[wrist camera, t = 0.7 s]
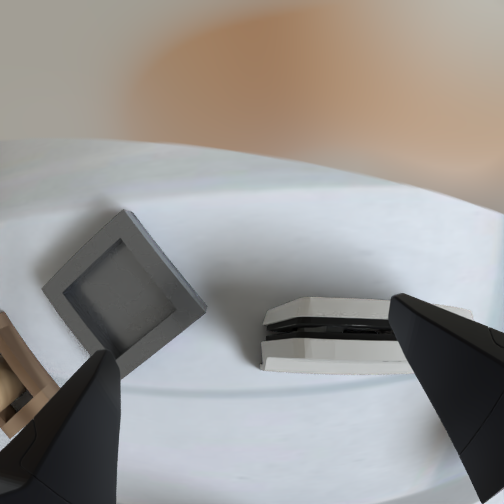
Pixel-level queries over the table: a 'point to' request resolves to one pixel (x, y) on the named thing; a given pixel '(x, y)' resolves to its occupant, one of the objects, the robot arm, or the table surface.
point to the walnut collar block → (23, 378)
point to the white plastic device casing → (335, 337)
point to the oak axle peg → (9, 385)
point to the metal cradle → (123, 294)
